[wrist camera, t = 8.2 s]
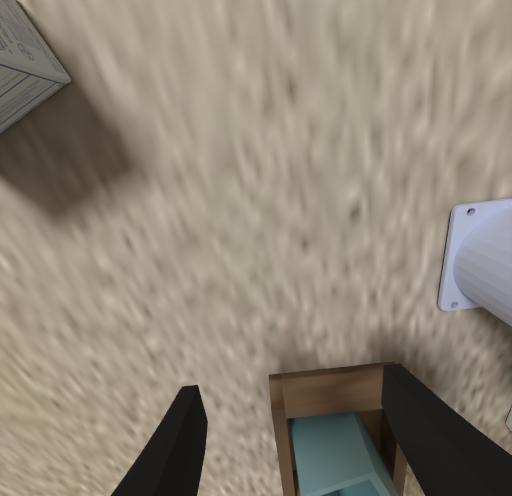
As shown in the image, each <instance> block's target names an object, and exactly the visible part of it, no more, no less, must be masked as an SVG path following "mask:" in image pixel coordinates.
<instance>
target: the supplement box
mask: <svg viewBox="0 0 512 496" xmlns="http://www.w3.org/2000/svg"><path fill="white" fill-rule="evenodd" d="M505 424H506V426H507V427H508V428H509V429H510V430H511V431H512V408H511V410H510V413H509V415H508V418H507V420H506V422H505Z"/></svg>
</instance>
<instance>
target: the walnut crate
mask: <svg viewBox="0 0 512 496" xmlns="http://www.w3.org/2000/svg"><path fill="white" fill-rule="evenodd" d="M390 364H395V363H394V362H388V363H379V364H369V365H360V366H350V367H341V368H332V369H322V370H313V371H303V372H294V373H284V374H275V375H269V384H270V397H271V411H272V418H273V425H274V432H275V439H276V446H277V453H278V460H279V467H280V474H281V481H282V488H283V495H284V496H301V494H300V487H299V480H298V473H297V466H296V459H295V452H294V444H293V437H292V430H291V423H290V418H297V417H307V416H317V415H327V414H337V413H347V412H356V411H357V412H358V414H359V415H360V417H361V418H362V420H363V422H364V423H365V425H366V427H367V428H368V430H369V432H370V433H371V435H372V437H373V438H374V440H375V442H376V443H377V446H378V448H379V451H380V453H381V455H382V458H383V460H384V462H385V465H386V467H387V470H388V472H389V474H390V477H391V479H392V481H393V484H394V486H395V489H396V491H397V493H398V496H403V490H404V483H405V476H406V468H407V460H406V458H405V456H404V454H403V452H402V450H401V448H400V446H399V444H398V442H397V440H396V438H395V436H394V434H393V432H392V430H391V427H390V425H389V422H388V420H387V418H386V415H385V412H384V410H383V407H382V405H381V396H382V382H383V367H384V365H390Z"/></svg>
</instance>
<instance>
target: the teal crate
mask: <svg viewBox="0 0 512 496" xmlns="http://www.w3.org/2000/svg"><path fill="white" fill-rule="evenodd" d="M290 423H291V430H292V437H293V444H294V452H295V459H296V466H297V473H298V480H299V487H300V494H301V496H398V493H397V491H396V489H395V486H394V484H393V481H392V479H391V477H390V474H389V472H388V470H387V467H386V465H385V462H384V460H383V458H382V455H381V453H380V451H379V448H378V446H377V443H376V442H375V440H374V438H373V437H372V435H371V433H370V432H369V430H368V428H367V427H366V425H365V423H364V422H363V420H362V418H361V417H360V415H359V414H358V412H357V411H356V412H347V413H337V414H327V415H317V416H307V417H297V418H290Z"/></svg>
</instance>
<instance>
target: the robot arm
mask: <svg viewBox="0 0 512 496" xmlns="http://www.w3.org/2000/svg"><path fill="white" fill-rule="evenodd" d="M469 209H470V212H469V213H468V214H467V211H468V210H469ZM453 302H454V303H453ZM452 303H453V304H452ZM451 304H452V305H451ZM438 307H439V308H440V309H441V310H443V311H452V310H461V309H470V308H479V307H484V308H485V309H487V310H488V311H489V312H491V313H492V314H494V315H495V316H497V317H498V318H499V319H501V320H502V321H504V322H505V323H507V324H508V325H509V326H511V327H512V198H508V199H499V200H491V201H483V202H475V203H467V204H459V205H457V206H455V207H454V208H453V209H452V212H451V217H450V224H449V231H448V237H447V244H446V251H445V258H444V264H443V271H442V278H441V284H440V291H439V298H438ZM381 405H382V407H383V410H384V412H385V415H386V418H387V420H388V422H389V425H390V427H391V430H392V432H393V434H394V436H395V438H396V440H397V442H398V444H399V446H400V448H401V450H402V452H403V454H404V456H405V458H406V460H407V461H408V463H409V465H410V467H411V469H412V471H413V473H414V475H415V477H416V479H417V480H418V482H419V484H420V486H421V488H422V490H423V492H424V494H425V496H512V455H510V454H509V453H508V452H506V451H505V450H504V449H502V448H501V447H500V446H498V445H497V444H496V443H494V442H493V441H492V440H490V439H489V438H488V437H487V436H485V435H484V434H483V433H481V432H480V431H479V430H478V429H476V428H475V427H474V426H473V425H471V424H470V423H469V422H468V421H466V420H465V419H464V418H463V417H461V416H460V415H459V414H458V413H457V412H455V411H454V410H453V409H452V408H451V407H449V406H448V405H447V404H446V403H445V402H443V401H442V400H441V399H440V398H439V397H438V396H436V395H435V394H434V393H433V392H432V391H431V390H429V389H428V388H427V387H426V386H425V385H424V384H423V383H421V382H420V381H419V380H418V379H417V378H416V377H415V376H414V375H412V374H411V373H410V372H409V371H408V370H407V369H406V368H405V367H403V366H402V365H401V364H390V365H384V367H383V382H382V396H381ZM207 424H208V420H207V417H206V413H205V409H204V406H203V402H202V398H201V395H200V391H199V387H198V385H193V386H184V387H182V388H181V389H180V391H179V392H178V394H177V396H176V397H175V399H174V401H173V403H172V404H171V406H170V408H169V409H168V411H167V413H166V414H165V416H164V418H163V419H162V421H161V423H160V424H159V426H158V427H157V429H156V431H155V432H154V434H153V435H152V437H151V438H150V440H149V441H148V443H147V445H146V446H145V448H144V449H143V451H142V452H141V454H140V455H139V456H138V458H137V459H136V461H135V462H134V464H133V465H132V467H131V468H130V469H129V471H128V472H127V474H126V475H125V477H124V478H123V479H122V481H121V482H120V484H119V485H118V486H117V488H116V489H115V490H114V492H113V493H112V494H111V496H197V493H198V488H199V482H200V477H201V472H202V466H203V461H204V455H205V447H206V437H207Z"/></svg>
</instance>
